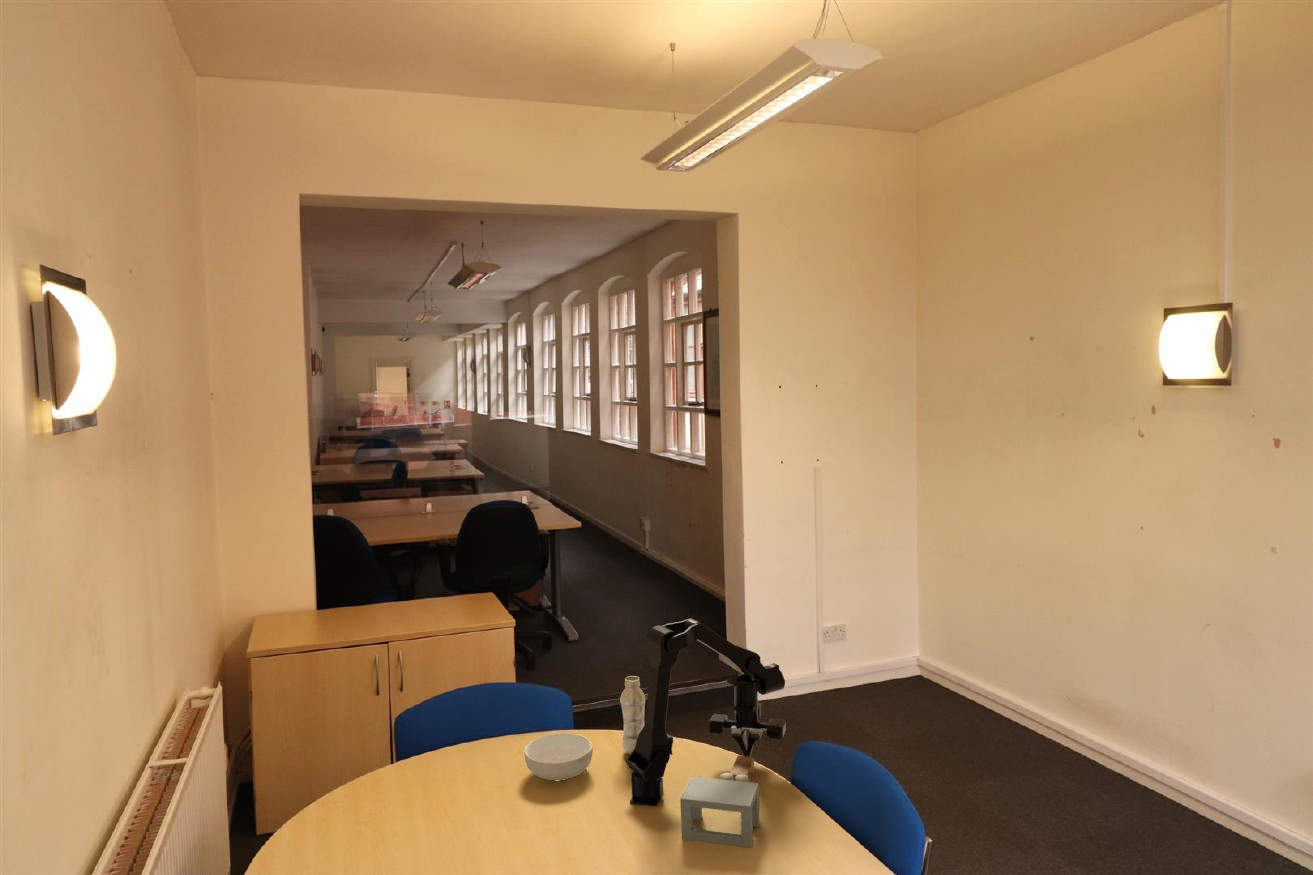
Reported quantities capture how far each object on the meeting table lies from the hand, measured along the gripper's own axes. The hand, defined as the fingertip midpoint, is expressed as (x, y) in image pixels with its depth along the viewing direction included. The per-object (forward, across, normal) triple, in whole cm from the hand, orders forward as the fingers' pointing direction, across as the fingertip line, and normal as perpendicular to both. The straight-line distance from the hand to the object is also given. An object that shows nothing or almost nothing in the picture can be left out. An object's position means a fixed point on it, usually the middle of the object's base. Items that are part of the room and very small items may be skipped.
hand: (747, 758), depth 218 cm
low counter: (+2, 0, +32) cm, 32 cm away
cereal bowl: (+2, +45, +14) cm, 47 cm away
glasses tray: (+1, 0, +12) cm, 12 cm away
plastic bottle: (+2, +30, 0) cm, 30 cm away
